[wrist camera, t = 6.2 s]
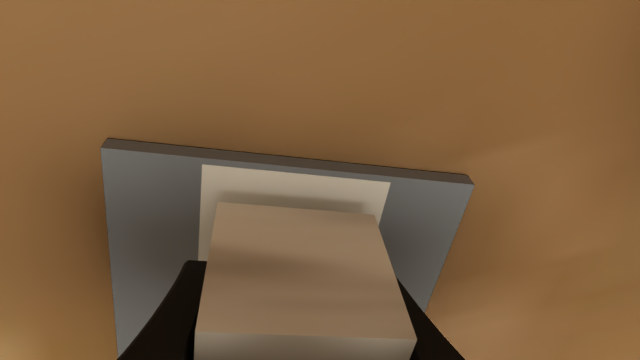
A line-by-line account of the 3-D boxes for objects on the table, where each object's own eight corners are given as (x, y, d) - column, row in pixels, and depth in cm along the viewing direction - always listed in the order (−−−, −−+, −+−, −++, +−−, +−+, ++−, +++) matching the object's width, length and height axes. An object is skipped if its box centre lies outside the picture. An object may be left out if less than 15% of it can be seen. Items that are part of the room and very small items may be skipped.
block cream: (344, 322, 15) (369, 458, 12) (210, 316, 15) (189, 460, 11) (374, 214, 13) (416, 339, 9) (217, 201, 12) (194, 332, 9)
